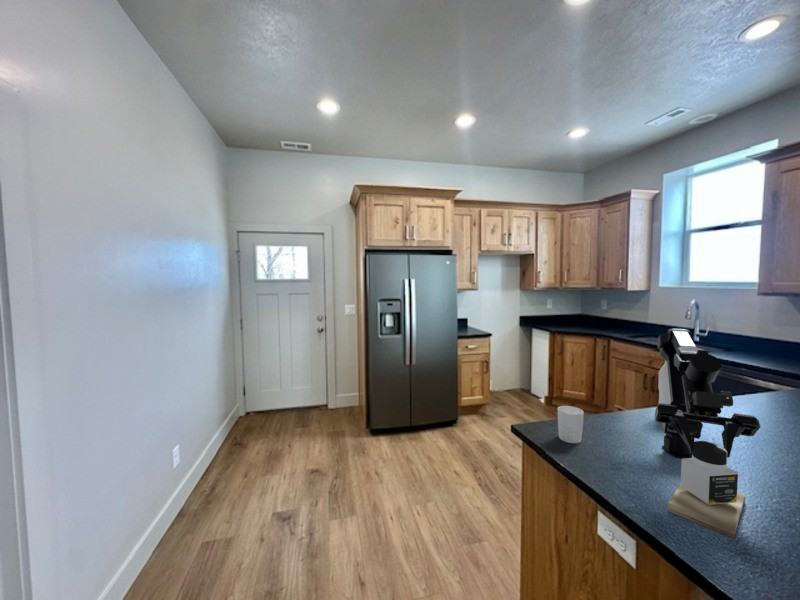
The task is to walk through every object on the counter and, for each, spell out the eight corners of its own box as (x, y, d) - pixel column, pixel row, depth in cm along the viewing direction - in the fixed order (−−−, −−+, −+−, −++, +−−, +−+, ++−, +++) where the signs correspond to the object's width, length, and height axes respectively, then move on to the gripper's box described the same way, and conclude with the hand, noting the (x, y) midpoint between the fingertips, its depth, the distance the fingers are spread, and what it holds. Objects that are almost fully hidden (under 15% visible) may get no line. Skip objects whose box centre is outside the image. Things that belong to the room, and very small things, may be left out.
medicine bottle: (709, 505, 76) (711, 453, 75) (679, 486, 83) (681, 438, 82) (737, 503, 76) (740, 451, 76) (706, 484, 84) (708, 437, 83)
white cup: (586, 445, 110) (587, 415, 110) (560, 443, 112) (561, 413, 111) (578, 434, 118) (579, 406, 117) (554, 433, 119) (555, 405, 119)
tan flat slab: (685, 481, 90) (686, 474, 89) (745, 502, 81) (745, 494, 81) (667, 511, 78) (668, 502, 78) (734, 538, 70) (734, 528, 70)
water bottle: (652, 414, 136) (654, 352, 135) (668, 413, 136) (671, 352, 135) (667, 421, 129) (670, 356, 128) (685, 421, 129) (687, 356, 128)
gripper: (658, 372, 87) (664, 431, 78) (759, 382, 78) (779, 450, 69) (652, 393, 94) (657, 449, 85) (744, 404, 85) (760, 468, 76)
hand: (709, 453), depth 79 cm, fingers closed on medicine bottle, 6 cm apart
